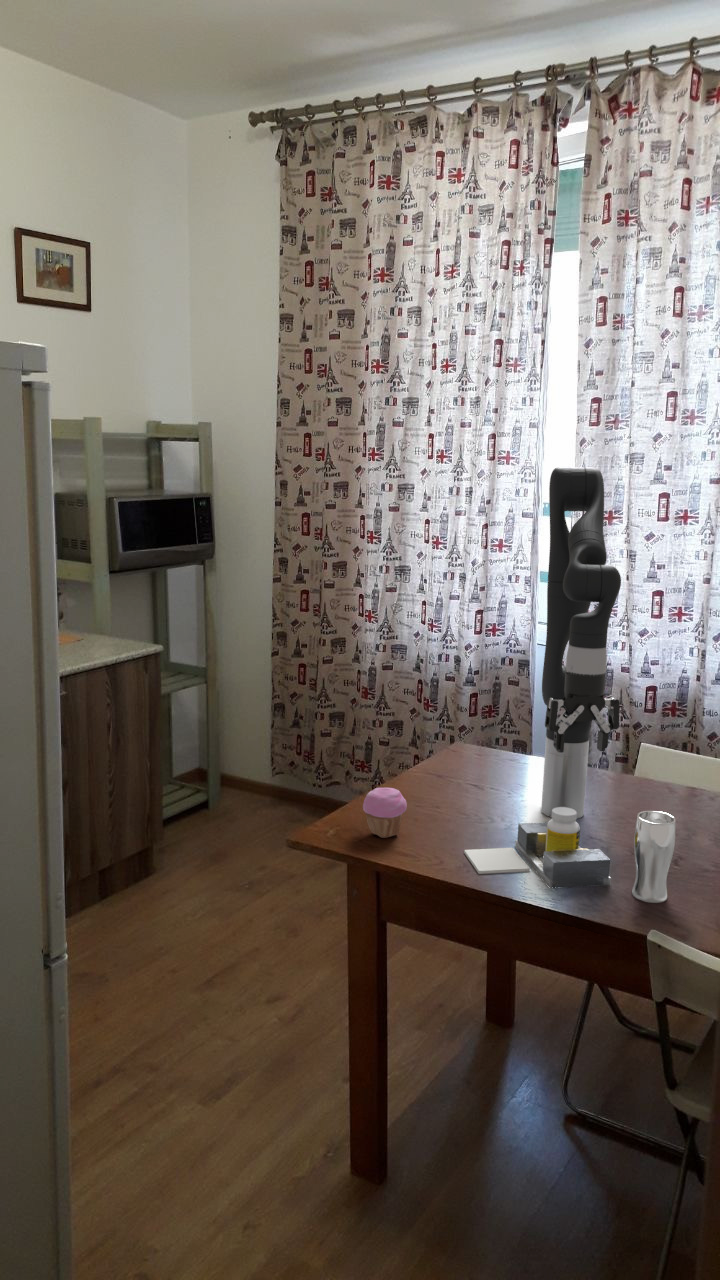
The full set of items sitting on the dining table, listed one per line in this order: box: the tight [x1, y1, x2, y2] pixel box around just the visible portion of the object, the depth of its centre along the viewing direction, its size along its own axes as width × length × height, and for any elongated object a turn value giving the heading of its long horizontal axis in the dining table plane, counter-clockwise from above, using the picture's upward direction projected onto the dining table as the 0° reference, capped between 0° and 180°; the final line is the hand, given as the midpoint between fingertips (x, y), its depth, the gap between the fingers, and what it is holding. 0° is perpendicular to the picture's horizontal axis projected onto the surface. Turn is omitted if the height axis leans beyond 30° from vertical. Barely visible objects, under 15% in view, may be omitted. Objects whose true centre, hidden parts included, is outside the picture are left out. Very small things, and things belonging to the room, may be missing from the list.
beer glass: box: [632, 810, 677, 904], centre depth 179 cm, size 7×7×15 cm
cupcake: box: [362, 787, 408, 839], centre depth 204 cm, size 9×9×10 cm
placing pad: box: [463, 847, 531, 875], centre depth 193 cm, size 10×10×1 cm
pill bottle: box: [545, 807, 581, 852], centre depth 191 cm, size 6×6×11 cm
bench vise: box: [514, 821, 612, 889], centre depth 192 cm, size 19×12×5 cm, turn 10°
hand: (580, 750), depth 193 cm, fingers open, 8 cm apart
